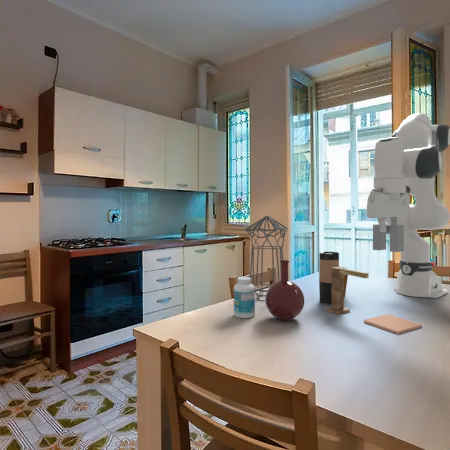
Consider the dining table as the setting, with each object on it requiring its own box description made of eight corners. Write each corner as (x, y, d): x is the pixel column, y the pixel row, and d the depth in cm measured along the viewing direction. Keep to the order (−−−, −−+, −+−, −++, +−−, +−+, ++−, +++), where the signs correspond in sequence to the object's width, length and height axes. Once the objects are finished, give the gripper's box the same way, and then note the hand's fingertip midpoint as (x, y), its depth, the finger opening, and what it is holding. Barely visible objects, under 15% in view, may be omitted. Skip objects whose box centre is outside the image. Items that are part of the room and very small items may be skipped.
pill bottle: (232, 312, 122) (232, 276, 121) (253, 312, 123) (252, 275, 122) (235, 319, 115) (234, 280, 114) (256, 318, 115) (256, 279, 115)
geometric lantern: (244, 301, 137) (243, 216, 136) (255, 293, 151) (254, 216, 151) (282, 304, 131) (281, 215, 130) (290, 296, 145) (289, 215, 145)
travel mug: (340, 305, 130) (340, 254, 129) (319, 304, 131) (319, 253, 130) (337, 300, 137) (337, 251, 136) (318, 299, 139) (318, 251, 138)
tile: (387, 316, 116) (387, 314, 116) (421, 326, 105) (421, 324, 105) (363, 322, 110) (363, 319, 110) (397, 334, 100) (397, 331, 100)
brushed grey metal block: (403, 251, 106) (403, 224, 105) (397, 252, 103) (397, 225, 103) (379, 248, 112) (379, 224, 112) (372, 249, 110) (372, 224, 109)
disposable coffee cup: (348, 294, 146) (349, 267, 146) (349, 300, 137) (349, 271, 137) (326, 292, 149) (326, 266, 149) (325, 298, 140) (325, 269, 140)
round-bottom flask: (303, 313, 120) (303, 258, 119) (305, 326, 107) (305, 264, 106) (266, 312, 122) (265, 258, 121) (264, 324, 109) (263, 263, 108)
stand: (337, 307, 127) (337, 265, 126) (372, 319, 113) (372, 272, 112) (325, 310, 124) (325, 267, 123) (360, 322, 110) (360, 274, 109)
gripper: (381, 186, 98) (380, 234, 99) (413, 188, 110) (413, 230, 111) (361, 188, 103) (361, 233, 104) (394, 189, 115) (394, 229, 116)
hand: (388, 231), depth 107 cm, fingers closed on brushed grey metal block, 4 cm apart
